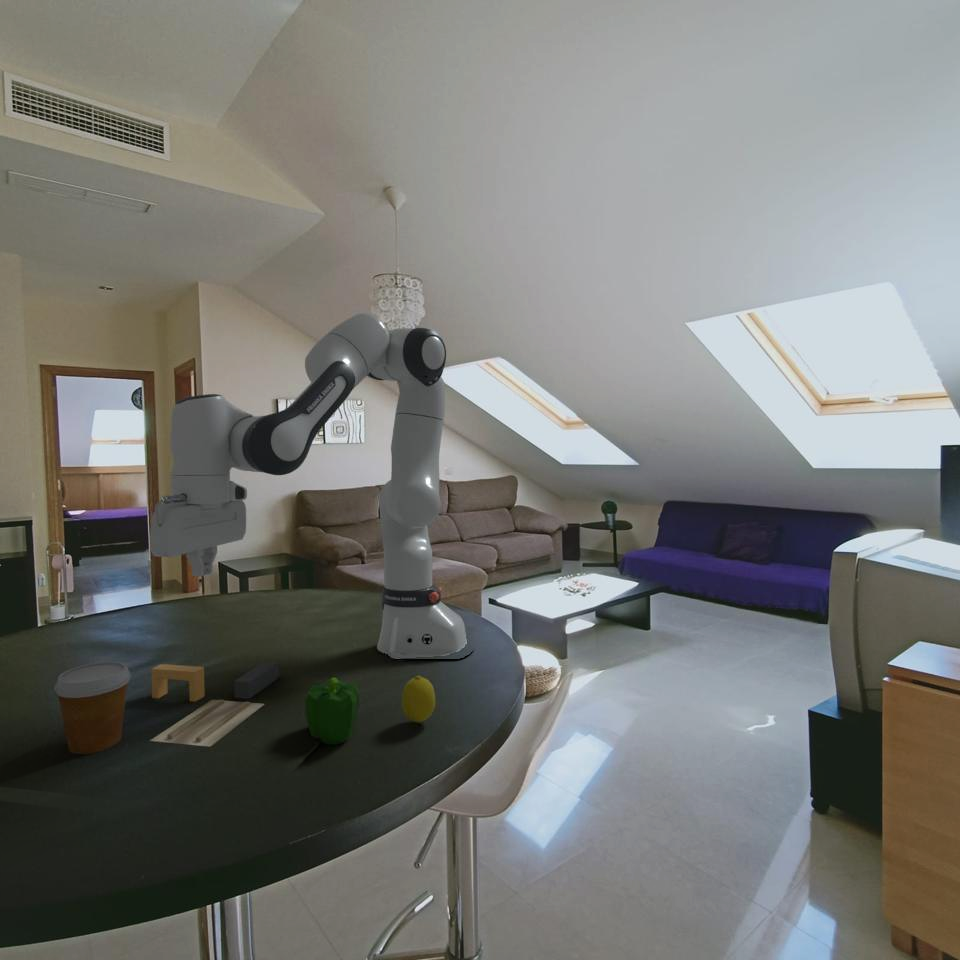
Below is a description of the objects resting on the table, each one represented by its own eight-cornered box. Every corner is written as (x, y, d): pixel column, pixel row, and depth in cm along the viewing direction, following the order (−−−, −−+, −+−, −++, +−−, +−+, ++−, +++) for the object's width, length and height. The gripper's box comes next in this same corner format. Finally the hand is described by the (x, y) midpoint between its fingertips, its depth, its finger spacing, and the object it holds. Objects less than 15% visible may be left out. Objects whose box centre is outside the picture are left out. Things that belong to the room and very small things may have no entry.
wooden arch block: (204, 702, 104) (204, 667, 104) (195, 708, 102) (195, 672, 102) (161, 698, 106) (161, 664, 106) (152, 704, 103) (151, 668, 103)
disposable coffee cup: (40, 760, 85) (38, 678, 84) (103, 731, 93) (101, 657, 93) (86, 773, 81) (84, 688, 81) (147, 741, 90) (145, 665, 90)
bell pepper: (310, 726, 95) (310, 665, 95) (362, 724, 96) (361, 664, 95) (298, 752, 87) (298, 686, 86) (354, 750, 88) (354, 684, 87)
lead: (278, 680, 113) (278, 662, 113) (249, 702, 103) (248, 682, 103) (265, 679, 113) (264, 661, 113) (234, 701, 104) (234, 680, 103)
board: (264, 710, 101) (264, 700, 101) (210, 754, 86) (209, 742, 86) (212, 706, 103) (212, 696, 103) (150, 748, 88) (149, 736, 88)
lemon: (421, 734, 92) (421, 685, 92) (394, 726, 95) (394, 677, 95) (442, 721, 97) (442, 674, 97) (415, 713, 100) (415, 667, 100)
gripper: (175, 496, 86) (177, 590, 87) (252, 489, 106) (253, 564, 107) (137, 496, 87) (139, 588, 88) (220, 488, 107) (222, 563, 108)
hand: (202, 575), depth 97 cm, fingers closed
